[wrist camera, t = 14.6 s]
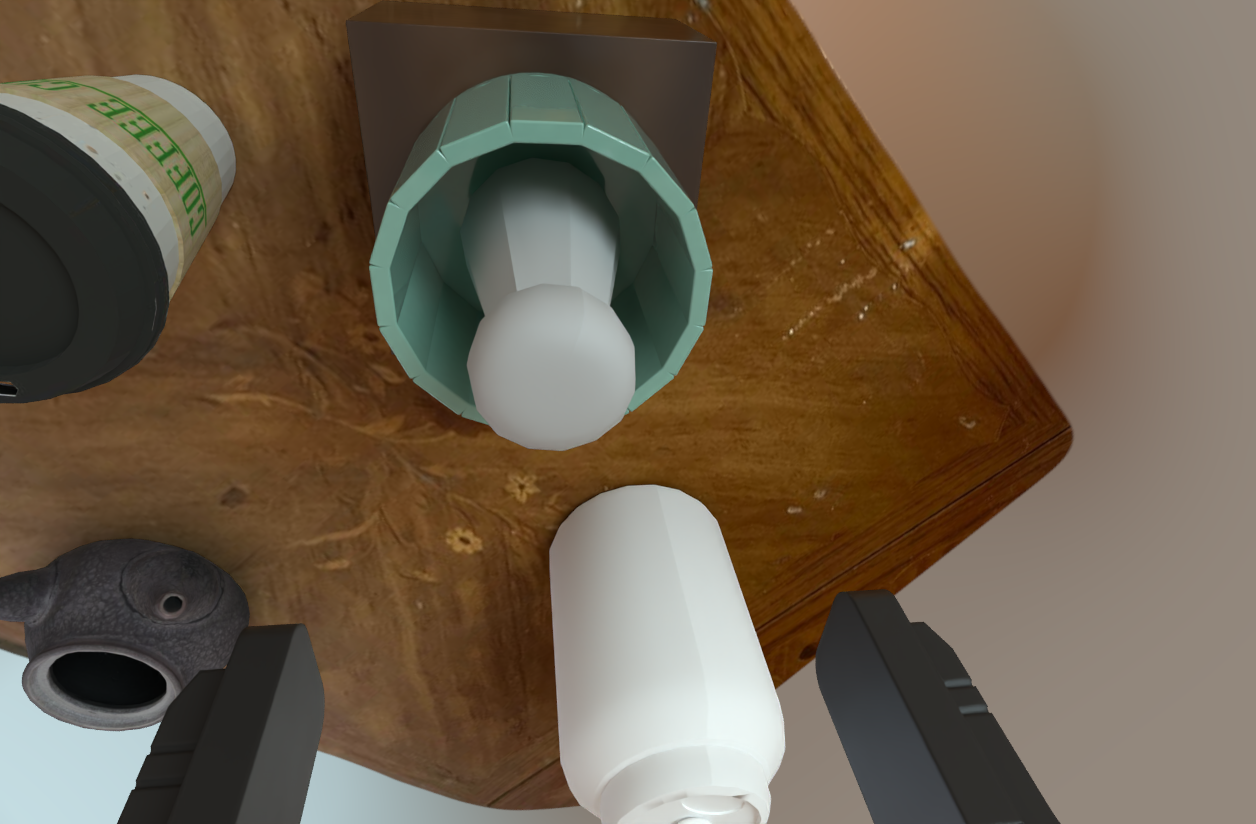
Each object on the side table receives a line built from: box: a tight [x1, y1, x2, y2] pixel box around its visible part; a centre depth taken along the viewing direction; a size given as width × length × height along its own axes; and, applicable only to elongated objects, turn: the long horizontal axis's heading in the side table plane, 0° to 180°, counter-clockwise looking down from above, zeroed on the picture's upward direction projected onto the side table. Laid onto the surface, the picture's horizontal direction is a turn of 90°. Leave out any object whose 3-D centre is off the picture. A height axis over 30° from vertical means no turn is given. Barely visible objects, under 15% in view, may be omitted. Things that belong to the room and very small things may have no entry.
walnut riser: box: [346, 1, 717, 354], centre depth 32 cm, size 13×13×8 cm
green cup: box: [369, 72, 713, 425], centre depth 25 cm, size 10×10×8 cm
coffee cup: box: [0, 75, 236, 403], centre depth 26 cm, size 10×10×15 cm
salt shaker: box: [460, 158, 636, 451], centre depth 22 cm, size 6×6×13 cm
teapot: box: [0, 538, 250, 731], centre depth 41 cm, size 19×15×10 cm
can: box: [549, 485, 785, 824], centre depth 43 cm, size 12×12×20 cm
